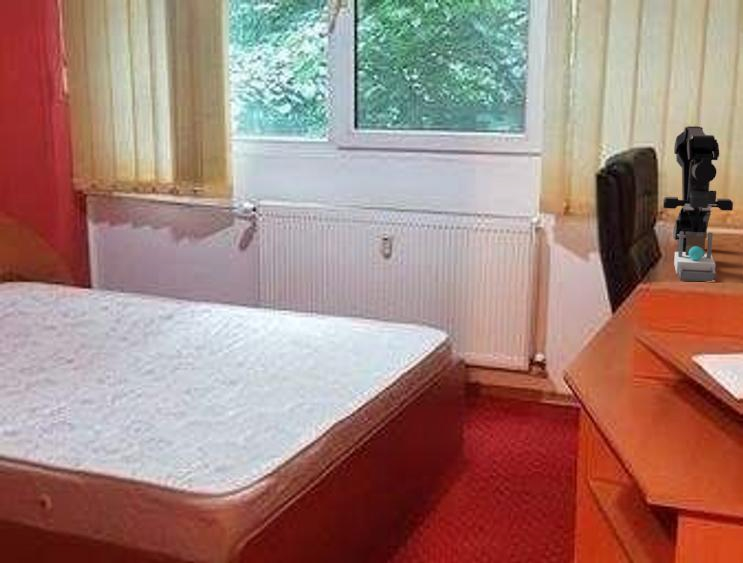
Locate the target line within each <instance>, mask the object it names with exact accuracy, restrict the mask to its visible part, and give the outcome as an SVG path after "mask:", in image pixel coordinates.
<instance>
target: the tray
mask: <svg viewBox="0 0 743 563" xmlns="http://www.w3.org/2000/svg"><path fill="white" fill-rule="evenodd" d="M678 277H679V281H680V280H682V281H681V282H695V281H712V280H716V278H717V272H716V269H715V270H714V268H713V267H711V271H706V270H687V269H682V267H681V266H679V274H678ZM716 281H717V280H716Z"/></svg>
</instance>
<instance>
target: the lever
mask: <svg viewBox="0 0 743 563" xmlns="http://www.w3.org/2000/svg"><path fill="white" fill-rule="evenodd" d="M685 236H686V238H687V239H686V255H688V256H689V250H690V249H691V248H692V247H694V246H698V247H700V248H702V250H703V253H705V251H706V250H705V249H706V248H705V246H706V239H707V238H708V232H686V235H685ZM703 256H704V254H703Z"/></svg>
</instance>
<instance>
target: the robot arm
mask: <svg viewBox="0 0 743 563" xmlns="http://www.w3.org/2000/svg"><path fill="white" fill-rule="evenodd" d="M673 150H674V152H673V153H674V155H675V156H676V158H675V159H676V163H677V164H678V165H679V166H680V167H681V184H682V185H681V196H682V197H681V199H679V197H678V196H665V197H664V198H663V202H662V203H663V204H662V206H663V209H671V210H672V209H674V210H675V209H676V208H678V207H682V208H681V209H680V211H679V212H678V216H677V218H676V220H675V221H674V226H673V230H672V233H673V234H672V238H673V239H674V240H677V249H676V250H677V251H676V252H679V238H680V231H683V232H684V238H683V251H682V252H686V239H687V238H686V232H706V230H707V231H708V226H707V225H706V223H705V221H703V219H704V217H705V215H706V214H707V213H712V210H711V209H712V208H718V209H719V210H720V211H733V210H734V202H733V201H732V200H731V199H730V198H719V197H718V198H717V190H710V185H711V184H710V183H711V182H712V181H713V180H714V179H715V178H716V176H717V168H716V166H715V165H714V163H713V161H718V158H719V157H720V148H719V143H718V140H717V139H716V137H715V136H714V135H713V134H706V133H705V132H704V130H703V127H702V126H685V127H684V129H683V131H682V132H681V133H680V134H678V135H677V136H676V139H675V142H674V149H673ZM699 207H700V208H699Z"/></svg>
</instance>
